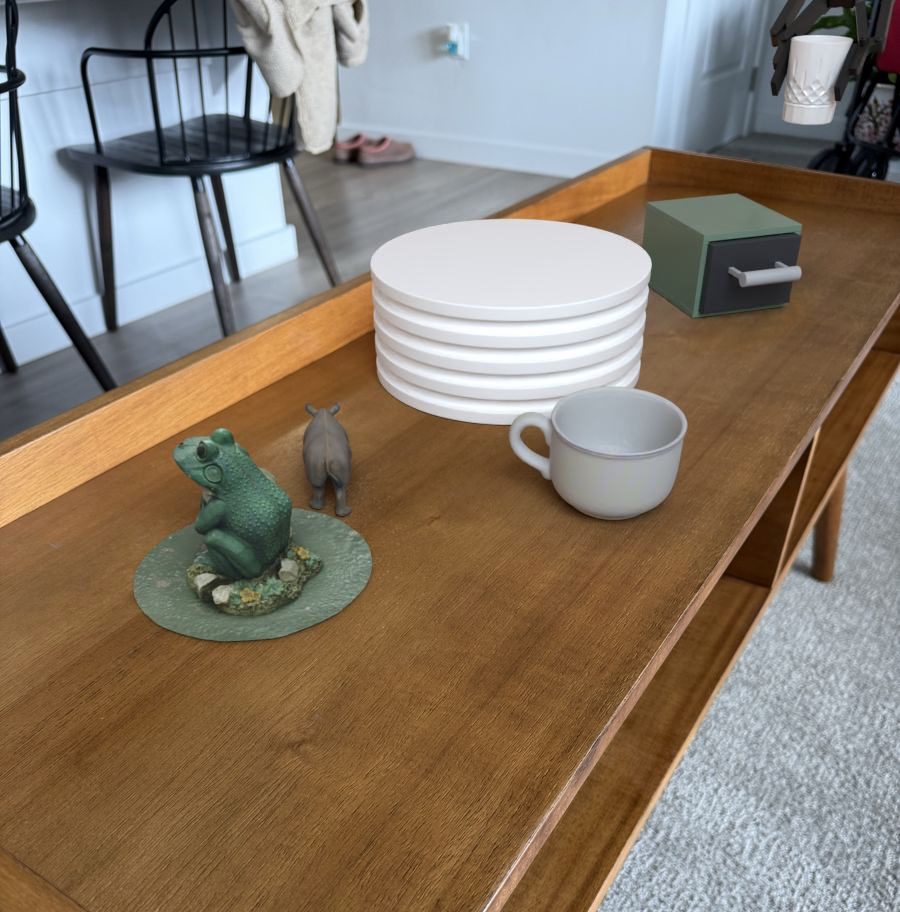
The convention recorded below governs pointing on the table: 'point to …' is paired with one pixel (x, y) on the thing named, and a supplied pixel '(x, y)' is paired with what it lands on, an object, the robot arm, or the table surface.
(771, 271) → the drawer
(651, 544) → the table surface
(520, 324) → the plate stack
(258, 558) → the frog figurine
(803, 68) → the white cup
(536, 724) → the table surface
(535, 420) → the teacup
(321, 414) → the rhino figurine
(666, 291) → the cabinet
